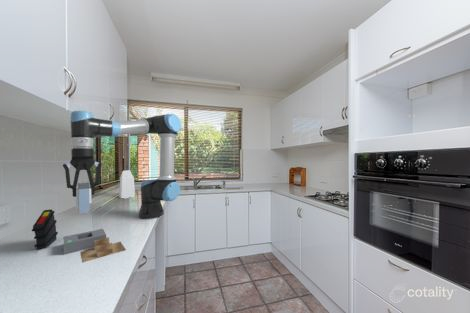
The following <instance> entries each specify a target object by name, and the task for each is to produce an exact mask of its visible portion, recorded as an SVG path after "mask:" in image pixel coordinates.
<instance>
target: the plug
mask: <svg viewBox="0 0 470 313" xmlns="http://www.w3.org/2000/svg"><path fill="white" fill-rule="evenodd" d="M89 187H90V182H79V183H78V182H77V188H78V189H79V205H77V206H78V207H77V208H78V214H79V215H81V214H87V213H90V212H91V211H90V210H91V209H90V208H91V206H90V205H91V203H90V200H89Z"/></svg>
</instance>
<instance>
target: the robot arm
mask: <svg viewBox="0 0 470 313" xmlns="http://www.w3.org/2000/svg"><path fill="white" fill-rule="evenodd" d="M181 129H182V122H181V119H180V118H179V116H177V115H176V114H174V113H166V114H160V115H154V116H150V117H145V118H140V119H139V120H138V119H137V120H120V121H119V120H118V121H117V120H116V121H115V120H112V119H111V120H110V119H109V120H108V119H102V118H101V119H100V118H96V117H94V115H93V113H92V112H90V111H87V110H74V111H72V112H71V113H70V135H71V136H70V140H71V141H70V143H71V146H70V147H72V149H71V153H70V154H71V159H70V162H67V163H63V164H62V167H63V168H64V170H65V171H64V172H65V179H66V180H65V182H66V189H71V191H72V197H74V198H75V202H76V203H75V204H76V206H78V205H79V189H78V181H79V177H80V173H81V172H80V171H83V170H84V171H86V174H87V178H88V183H89V200H90V204H92V196H93V195H95V187H96V186H97V187H98V186H99V185H100V179H101V178H100V176H101V175H100V173H101V168H102V165H103V164H102V163H101V162H98V161H96V160H95V157H94V149H93V148H94V138H103V137H109V138H112V137H113V138H115V137H119V136H121V135H133V134H139V133H140V134H142V135H143V134H144V135H146V134H147V135H148V134H150V135H151V134H152V135H155V134H156V135H158V137H159V138H160V143H159V146H160V147H159V148H160V149H159V176H158V177H157V178H155V179H150V180H143V181H141V183H140V197H141V198H140V199H141V201H140V203H141V204H140V208H139V211H138V218H140V219H154V218H159V217H162V216H164V214H165V213H164V208H163V206H162V203H161V202H162V201H163V202H174V201H175V200H176V199H177V198H178V197H179V195H180V191H181V186H180V184H179V183H178V182H177V178H176V177H175V148H176V147H175V139H176V138H178V133H179V132H181ZM71 166H72V167H73V168H74V169H75V172H74V178H73V183H72V184H71V174H70V168H71ZM93 166H94V167H95V180H94V178H93V175H92V171H91V168H92V167H93ZM94 181H95V182H94Z"/></svg>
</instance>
